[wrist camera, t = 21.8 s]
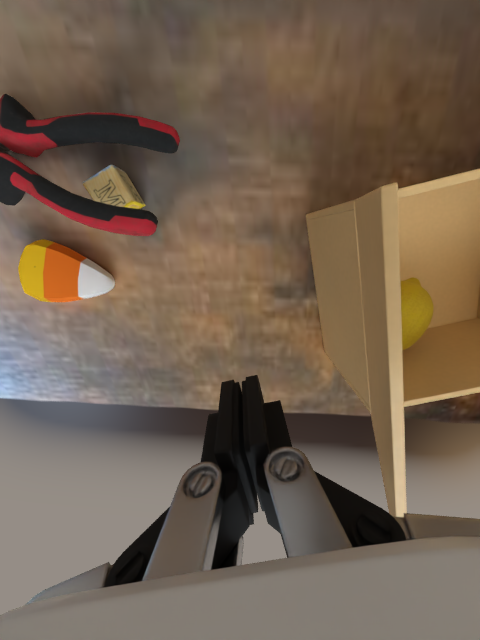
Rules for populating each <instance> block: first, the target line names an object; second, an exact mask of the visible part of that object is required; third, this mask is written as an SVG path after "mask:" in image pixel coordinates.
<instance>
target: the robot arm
mask: <svg viewBox="0 0 480 640" xmlns="http://www.w3.org/2000/svg"><path fill="white" fill-rule="evenodd" d="M257 495H258V498H259V502H260V505H261V509H262V511H265V514H266V518H267V522H268V524H270V525H271V526H272V527H273V528H274V529H276V530H277V531H278V532H279V533H280V534H281V536H282V540H283V544H284V547H285V551H286V554H287V558H284V559H278V560H271V561H265V562H259V563H252V564H246V565H241V564H242V554H243V536H242V535H243V534H244V533H245V531H246V530H247V529H248V527H249V525H252V524H254V520H253V513H256V512H258V501H257ZM0 640H480V519H473V518H460V517H447V516H434V515H422V514H408V513H404V517H395V516H392V515H390V514H389V513H388V512H386V511H385V510H383V509H382V508H380V507H378V506H376V505H374V504H373V503H371V502H369V501H367V500H366V499H364V498H362V497H360V496H358V495H357V494H355V493H353V492H351V491H349V490H347V489H345V488H344V487H342V486H340V485H338V484H337V483H335V482H333V481H331V480H329V479H328V478H326V477H324V476H322V475H320V474H319V473H317V472H315V471H314V470H313V468H312V467H311V464H310V462H309V461H308V459H307V457H306V456H305V454H304V453H303V452H301V451H300V450H299V449H296V448H293V447H292V445H291V440H290V437H289V433H288V429H287V425H286V421H285V418H284V414H283V410H282V406H281V402H280V400H279V401H274V402H269V403H264V400H263V396H262V392H261V387H260V383H259V379H258V375H254V376H250V377H246V381H242V392H241V388H240V385H239V382H236V383H235V382H234V380H230V381H226V382H222V384H221V393H220V402H219V411H218V413H214V414H210V415H209V416H208V421H207V427H206V433H205V439H204V445H203V452H202V458H201V463H198V464H196V465H194V466H192V467H191V468H190V469H188V470H187V471H186V473H185V474H184V475H183V476H182V478H181V480H180V483H179V485H178V487H177V490H176V493H175V495H174V498H173V501H172V503H171V506H170V507H169V508H168V509H167V510H166V511H165V512H164V513H163V514H162V515H161V516H160V517H159V518H158V519H157V520H156V521H155V522H154V523H153V524H152V525H151V526H150V527H149V528H148V529H147V530H146V531H145V532H144V533H143V534H141V535H140V537H139V538H137V539H136V540H135V541H134V542H133V543H132V544H131V545H130V546H129V547H128V548H127V549H126V550H125V551H124V552H123V553H122V555H121V556H120V557H119V558H118V559H117V560H116V562H115V563H114V564H113V565H110V563H109V562H108V563H105V564H103V565H101V566H98V567H96V568H94V569H92V570H89V571H87V572H85V573H82V574H80V575H78V576H75V577H73V578H71V579H69V580H66V581H64V582H62V583H59V584H57V585H55V586H52V587H50V588H48V589H45V590H44V591H42V592H40V593H39V594H37V595H36V596H34V597H33V598H32V599H31V600H30V601H29V602H28V603H27V604H26V605H25V606H22V607H19V608H16V609H13V610H11V611H9V612H6V613H4V614H2V615H0Z"/></svg>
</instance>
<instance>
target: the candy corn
mask: <svg viewBox="0 0 480 640" xmlns="http://www.w3.org/2000/svg"><path fill="white" fill-rule="evenodd" d="M18 270H19V276H20V282H21V284H22V287H23V290H24V292H25V293H26V294H28V295H30V296H32V297H34V298H36V299H38V300H40V301H46V302H69V301H75V300H81V299H86V298H91V297H96V296H99V295H102V294H105V293H107V292H109V291H110V290H112V289H113V288H114V286H115V280H114V278H113V276H112V275H111V274H110V273H108V272H107V271H106V270H104V269H103V268H101V267H100V266H99V265H97V264H96V263H94V262H92V261H91V260H89V259H87V258H86V257H84V256H82V255H80V254H79V253H77V252H75V251H73V250H72V249H70V248H68V247H66V246H63V245H60V244H58V243H55V242H52V241H48V240H45V239H42V240H38V241H35V242H33V243H31V244H29V245H27V246H26V247H25V249H24V251H23V253H22V255H21V258H20V263H19V267H18Z"/></svg>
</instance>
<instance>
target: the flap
mask: <svg viewBox="0 0 480 640" xmlns="http://www.w3.org/2000/svg"><path fill="white" fill-rule="evenodd" d="M355 211H356V224H357V237H358V250H359V263H360V275H361V288H362V301H363V314H364V327H365V340H366V352H367V365H368V378H369V391H370V404H371V417H372V424H373V429H374V434H375V439H376V445H377V450H378V455H379V461H380V466H381V471H382V477H383V482H384V487H385V492H386V498H387V503H388V509H389V514H390V515H392V516H395V517H404V513H407V506H406V471H405V469H406V467H405V430H404V392H403V354H402V316H401V278H400V240H399V202H398V183H392V184H388V185H385V186H381V187H379V188H378V189H376V190H374V191H372V192H370V193H368V194H366V195H364V196H362V197H360V198H358V199H357V200H355Z"/></svg>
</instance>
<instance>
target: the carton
mask: <svg viewBox="0 0 480 640" xmlns="http://www.w3.org/2000/svg"><path fill="white" fill-rule="evenodd" d="M355 200H357V199H355ZM355 200H352V201H348V202H345V203H342V204H339V205H335V206H332V207H329V208H326V209H322V210H319V211H316V212H312V213H309V214H306V222H307V229H308V237H309V244H310V251H311V258H312V266H313V273H314V280H315V287H316V295H317V302H318V309H319V316H320V324H321V331H322V338H323V345H324V352H325V353H326V355H327V356H328V357H329V359H330V360H331V361H332V363H333V364H334V365H335V367H336V368H337V369H338V371H339V372H340V373H341V375H342V376H343V377H344V379H345V380H346V381H347V383H348V384H349V385H350V387H351V388H352V389H353V391H354V392H355V393H356V395H357V396H358V397H359V399H360V400H361V401H362V403H363V404H364V405H365V407H366V408H367V409H368V411H369V412H370V413H371V404H370V391H369V378H368V365H367V352H366V340H365V327H364V314H363V301H362V288H361V275H360V263H359V250H358V237H357V224H356V211H355ZM398 202H399V240H400V278H401V281H404V280H407V279H409V278H412V277H413V278H417V279H419V281H420V284H421V286H422V287H423V288H424V289H425V290H426V291H427V292H428V293H429V295H430V296H431V299H432V302H433V307H434V309H433V316H432V320H431V322H430V324H429V326H428V328H427V330H426V331H425V332H424V334H423V335H422V336H421V337H420V338H419V339H418V340H417V341H416V342H415V343H414V344H413V345H412V346H410V347H409V348H407V349H405V350H402V354H403V392H404V407H406V406H411V405H416V404H421V403H426V402H432V401H437V400H442V399H447V398H452V397H457V396H462V395H468V394H473V393H478V392H480V168H479V169H475V170H471V171H467V172H463V173H459V174H455V175H451V176H447V177H443V178H439V179H435V180H431V181H427V182H423V183H419V184H415V185H411V186H407V187H403V188H399V189H398Z"/></svg>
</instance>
